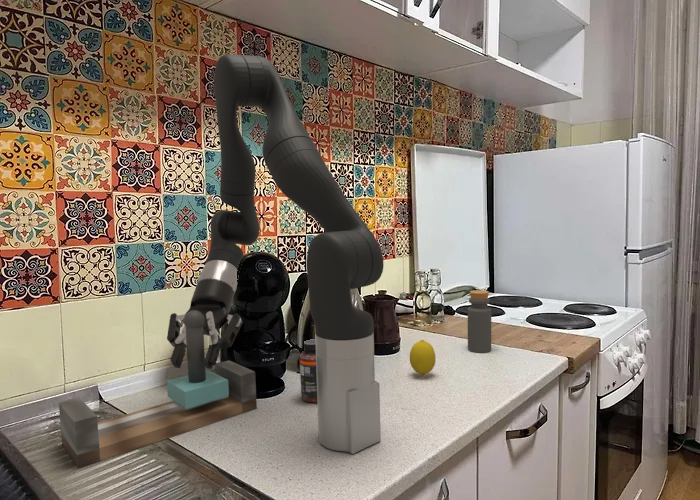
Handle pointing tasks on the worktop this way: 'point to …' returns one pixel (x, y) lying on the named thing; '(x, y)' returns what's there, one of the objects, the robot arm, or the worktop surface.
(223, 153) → the robot arm
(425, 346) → the lemon
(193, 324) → the carriage
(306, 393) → the supplement bottle
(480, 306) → the bottle
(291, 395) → the worktop surface
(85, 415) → the rail
